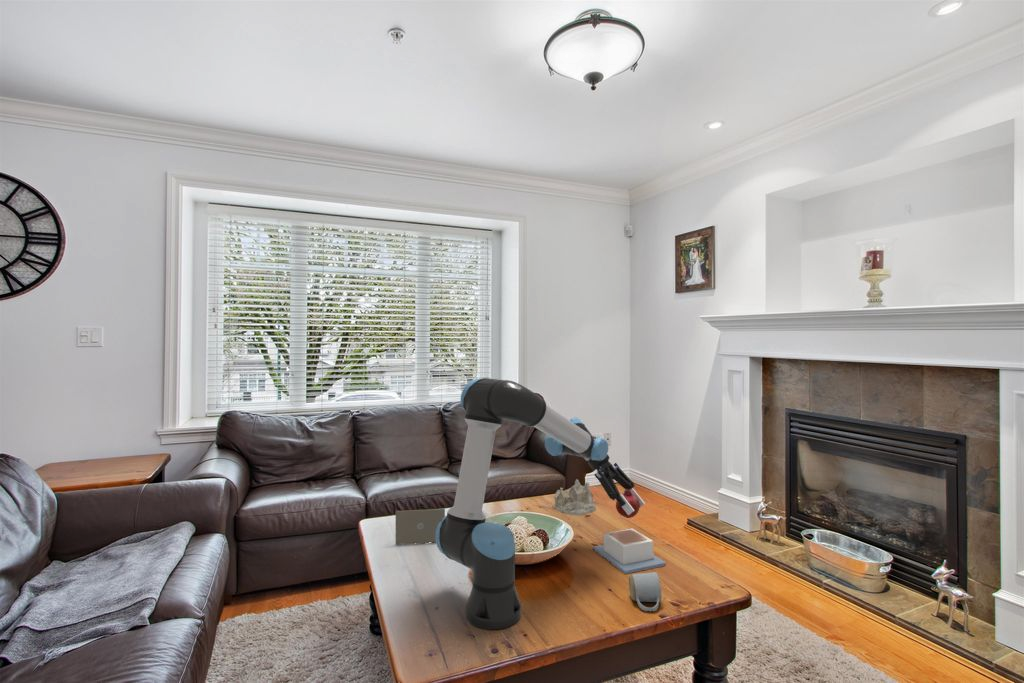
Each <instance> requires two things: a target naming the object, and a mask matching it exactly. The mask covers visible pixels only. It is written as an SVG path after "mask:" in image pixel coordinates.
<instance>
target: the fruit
mask: <svg viewBox="0 0 1024 683" xmlns="http://www.w3.org/2000/svg"><path fill="white" fill-rule="evenodd" d="M621 494H622V495H623V496H624V497H625V499H626V500H627V501H628V502H629V504H630V505H631V506H632V508H633V509H634V511H633V512H632V513H631V514H630V515H628V514H627V513H626V512H625V510H624V509H623V508H622V507H621V505H620V504H619V503H618V501H617V500H616V503H615V509H616V511H617V512H618V514H619V515H620V516H621V517H624V518H626V519H631V518H634V517H636V515H637V514H638V513H639V511H640V509H641V507H640V505H639V501H638V499H637V498H636V497H635V496H634V495H632V493H631V491H630V490H629V489H624V492H623V493H621Z"/></svg>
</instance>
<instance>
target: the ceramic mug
mask: <svg viewBox="0 0 1024 683" xmlns="http://www.w3.org/2000/svg"><path fill="white" fill-rule="evenodd" d="M628 589H629V595H630V598H631V599H632V601H634V602H637V605H638V607H639V608H640V609H641V610H643V611H644V612H647V611H650V612H649V613H652V612H651V611H653V612H655V611H656V610H658V608H659V604H660V603H661V601H662V586H661V582H660V577H659V575H658V573H657V572H655V571H653V572H642V573H640V572H639V573H631V574H630V575H629V576H628ZM644 602H645V603H647V602H649V603H656V604H655V605H654V606H653V607H647V606H645V605H643V604H642V603H644Z"/></svg>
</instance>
